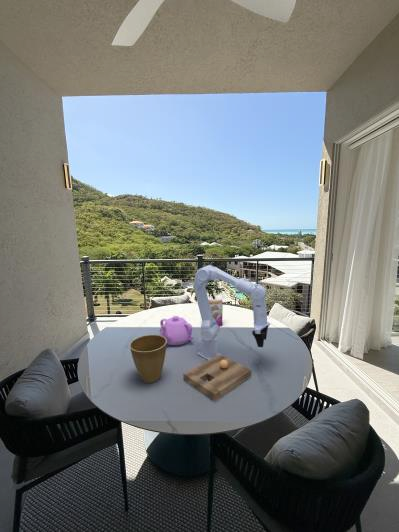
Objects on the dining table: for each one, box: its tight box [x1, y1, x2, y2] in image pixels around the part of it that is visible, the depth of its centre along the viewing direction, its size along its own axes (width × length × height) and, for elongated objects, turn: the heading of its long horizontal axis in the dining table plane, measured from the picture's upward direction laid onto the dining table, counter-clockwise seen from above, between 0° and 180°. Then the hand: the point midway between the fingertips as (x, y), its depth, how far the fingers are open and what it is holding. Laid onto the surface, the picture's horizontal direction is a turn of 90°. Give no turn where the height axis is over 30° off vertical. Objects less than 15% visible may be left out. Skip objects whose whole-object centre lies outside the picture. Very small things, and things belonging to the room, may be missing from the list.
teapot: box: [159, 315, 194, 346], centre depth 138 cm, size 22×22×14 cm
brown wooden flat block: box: [182, 353, 252, 402], centre depth 106 cm, size 18×22×3 cm
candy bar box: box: [208, 298, 224, 327], centre depth 160 cm, size 11×5×16 cm, turn 92°
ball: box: [220, 360, 228, 369], centre depth 108 cm, size 4×4×4 cm
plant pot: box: [129, 334, 168, 384], centre depth 106 cm, size 15×15×16 cm
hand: (262, 342), depth 113 cm, fingers open, 7 cm apart
